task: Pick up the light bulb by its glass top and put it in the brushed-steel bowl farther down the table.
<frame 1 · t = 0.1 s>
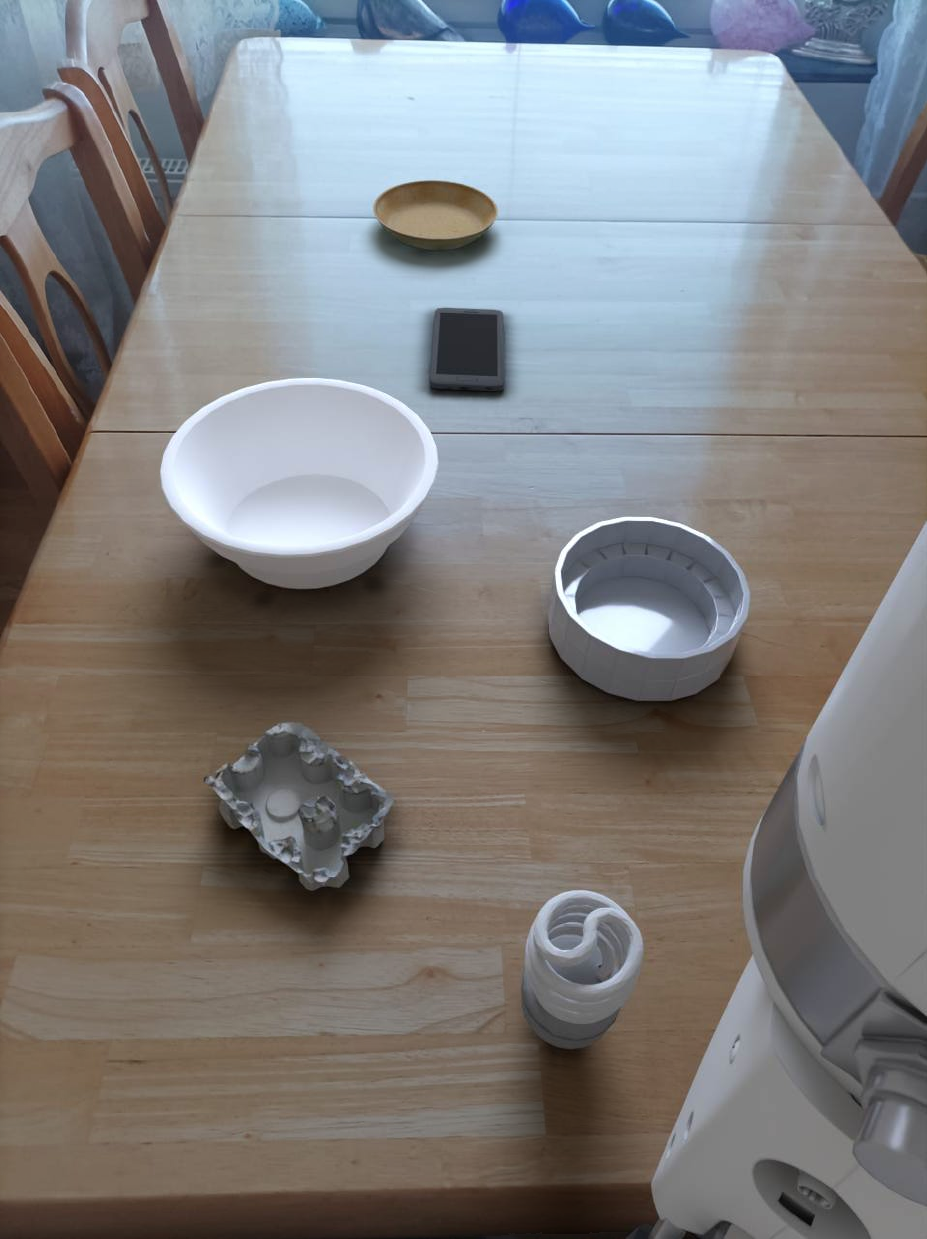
hand: (733, 1137, 29), 22 cm above the table, tool pointing down, fingers open, 9 cm apart
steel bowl: (638, 631, 72), on the table
egg carton: (305, 818, 61), on the table
plant saucer: (435, 230, 113), on the table
light bulb: (561, 1017, 53), on the table
cell phone: (467, 352, 96), on the table
bowl: (310, 536, 78), on the table
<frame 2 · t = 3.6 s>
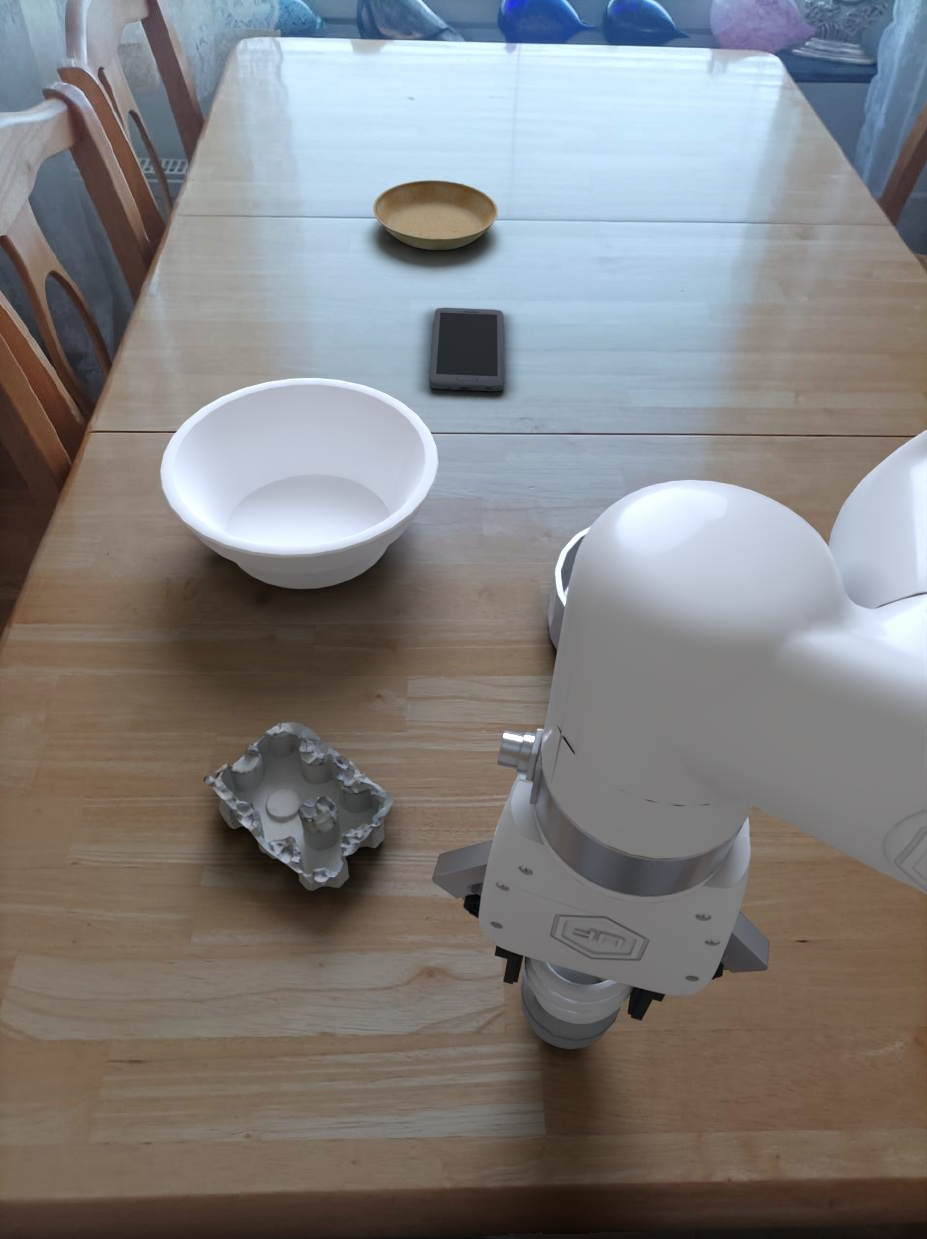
hand: (577, 971, 48), 7 cm above the table, tool pointing down, fingers closed on light bulb, 5 cm apart
light bulb: (561, 1018, 53), on the table, touching gripper
everything else where it was.
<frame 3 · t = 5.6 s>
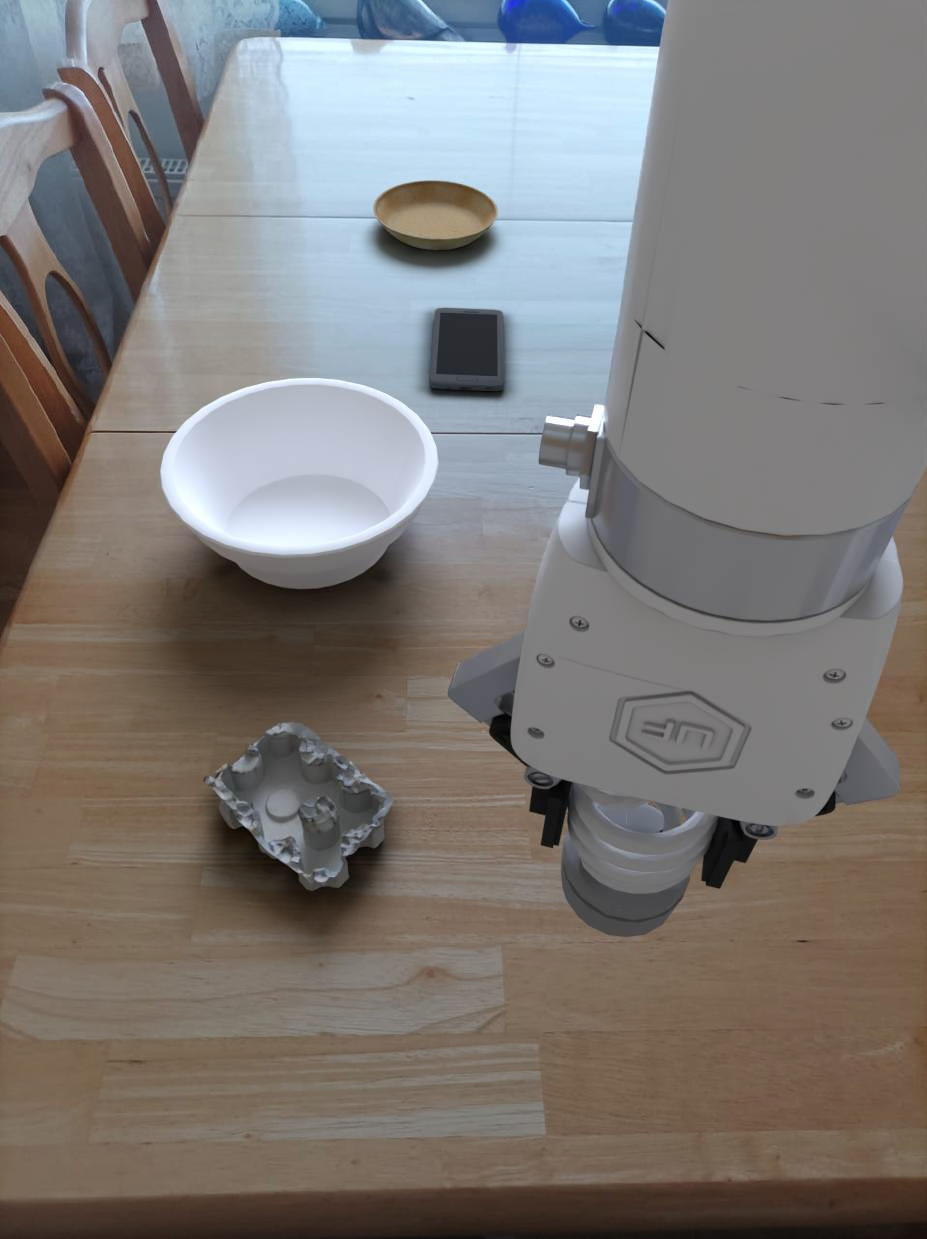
hand: (634, 832, 37), 21 cm above the table, tool pointing down, fingers closed on light bulb, 5 cm apart
light bulb: (610, 909, 43), point 14 cm above the table, touching gripper
everything else where it was.
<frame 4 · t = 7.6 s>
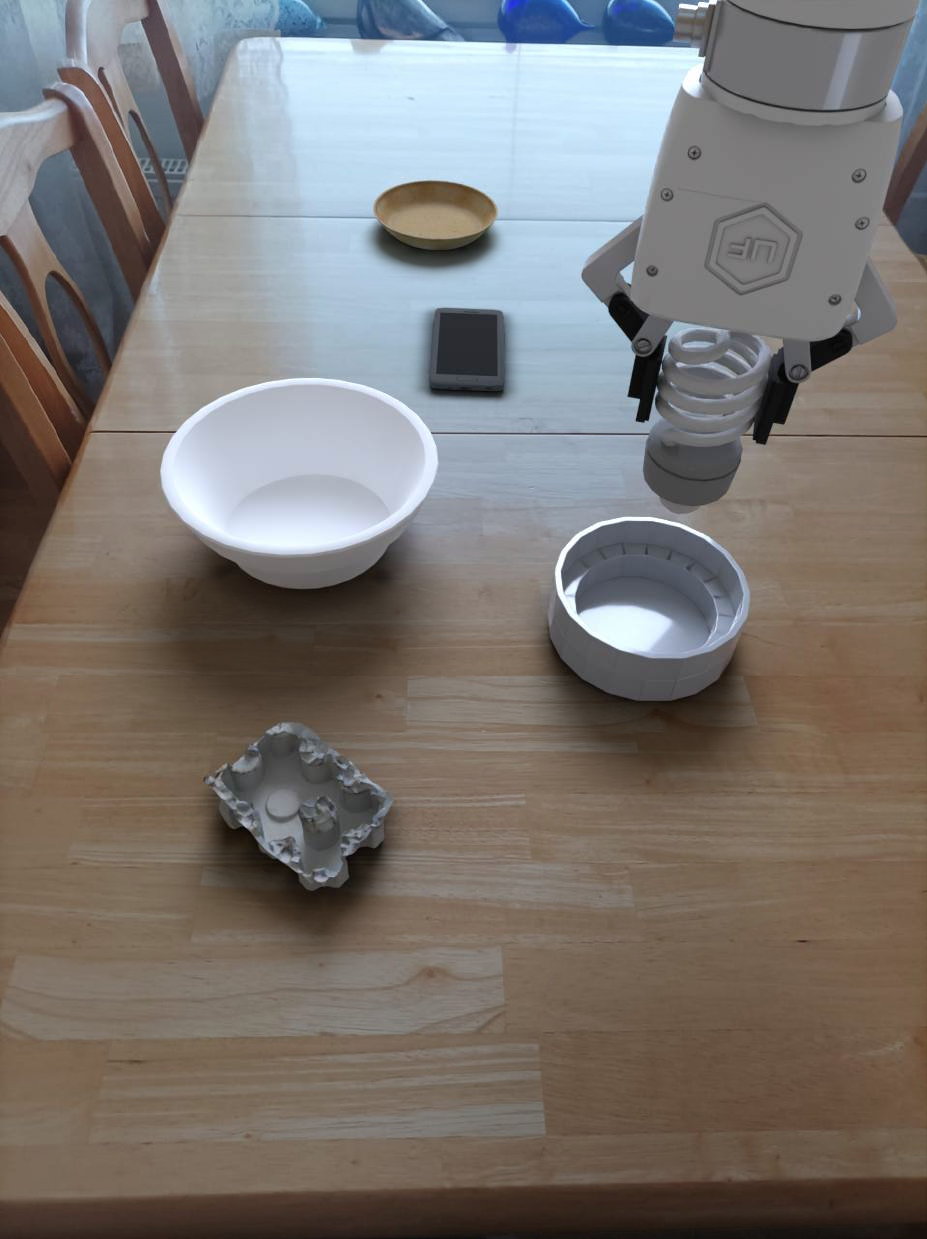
hand: (702, 415, 51), 23 cm above the table, tool pointing down, fingers closed on light bulb, 5 cm apart
light bulb: (676, 512, 57), point 16 cm above the table, touching gripper
everything else where it was.
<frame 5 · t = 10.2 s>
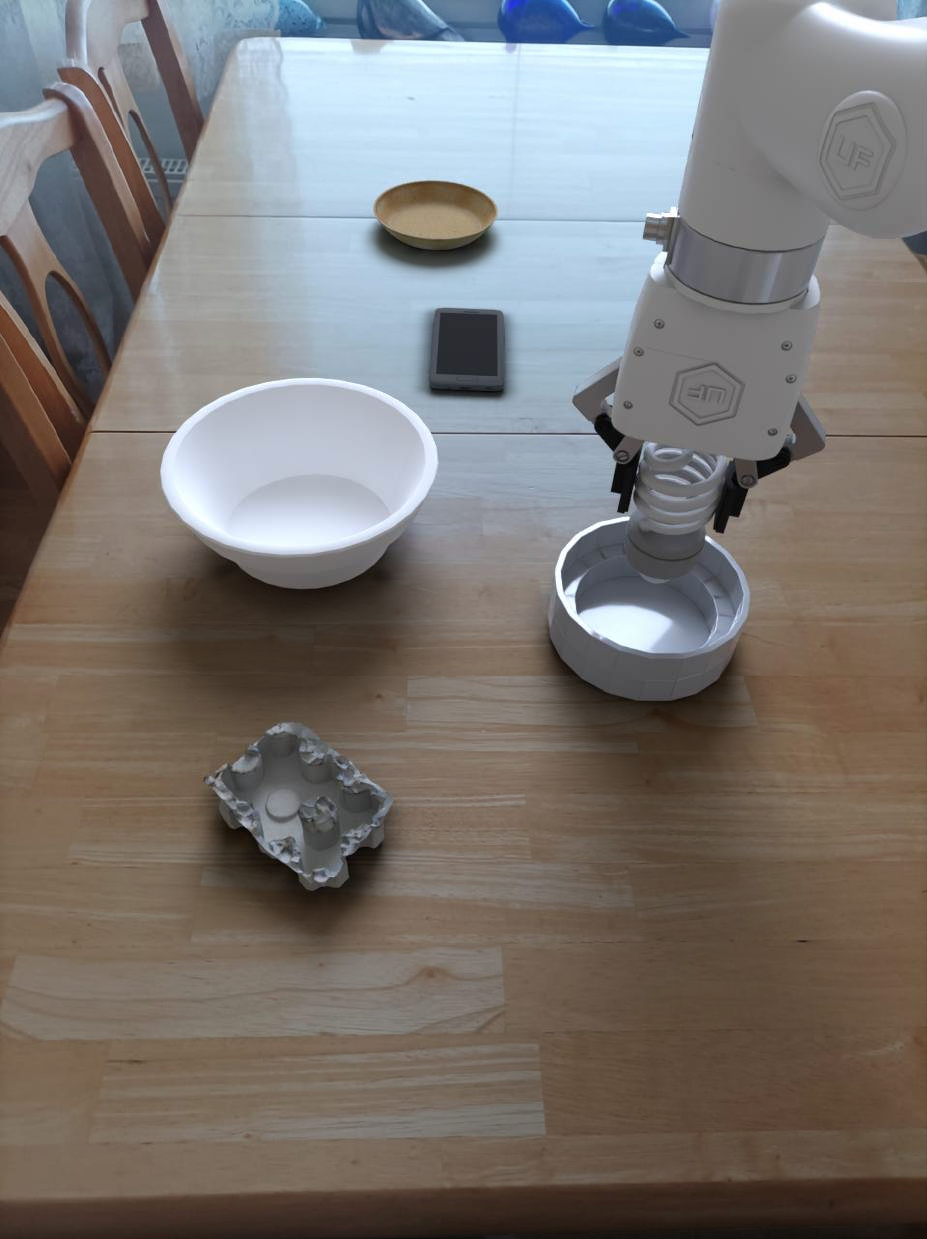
hand: (672, 507, 62), 13 cm above the table, tool pointing down, fingers closed on light bulb, 5 cm apart
light bulb: (652, 581, 67), point 6 cm above the table, touching gripper
everything else where it was.
when the fingers open (8 cm above the table, at t = 12.0 s): light bulb stays where it is, resting on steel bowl.
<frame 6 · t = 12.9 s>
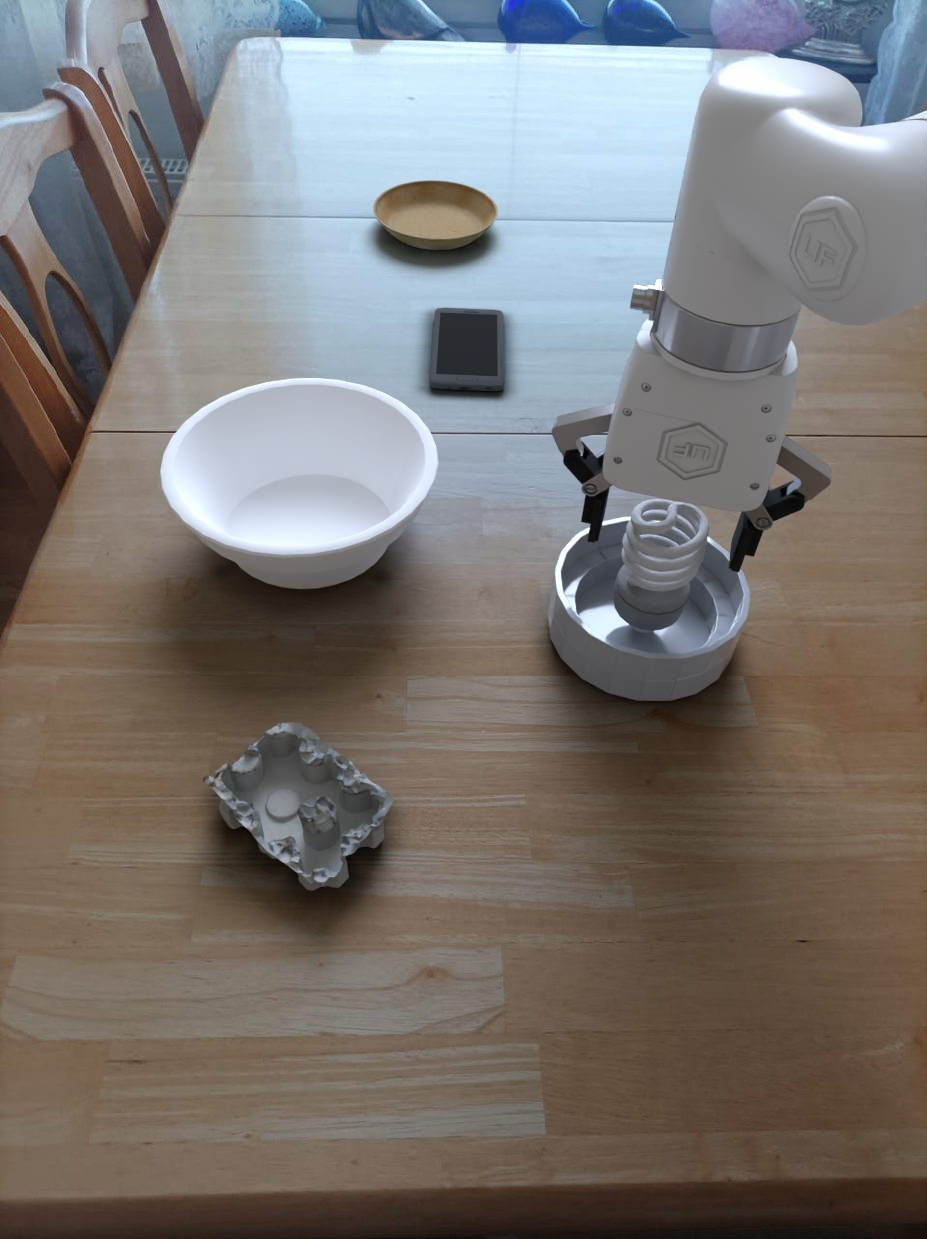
hand: (664, 543, 64), 10 cm above the table, tool pointing down, fingers open, 9 cm apart
light bulb: (640, 629, 71), resting on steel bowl
everything else where it was.
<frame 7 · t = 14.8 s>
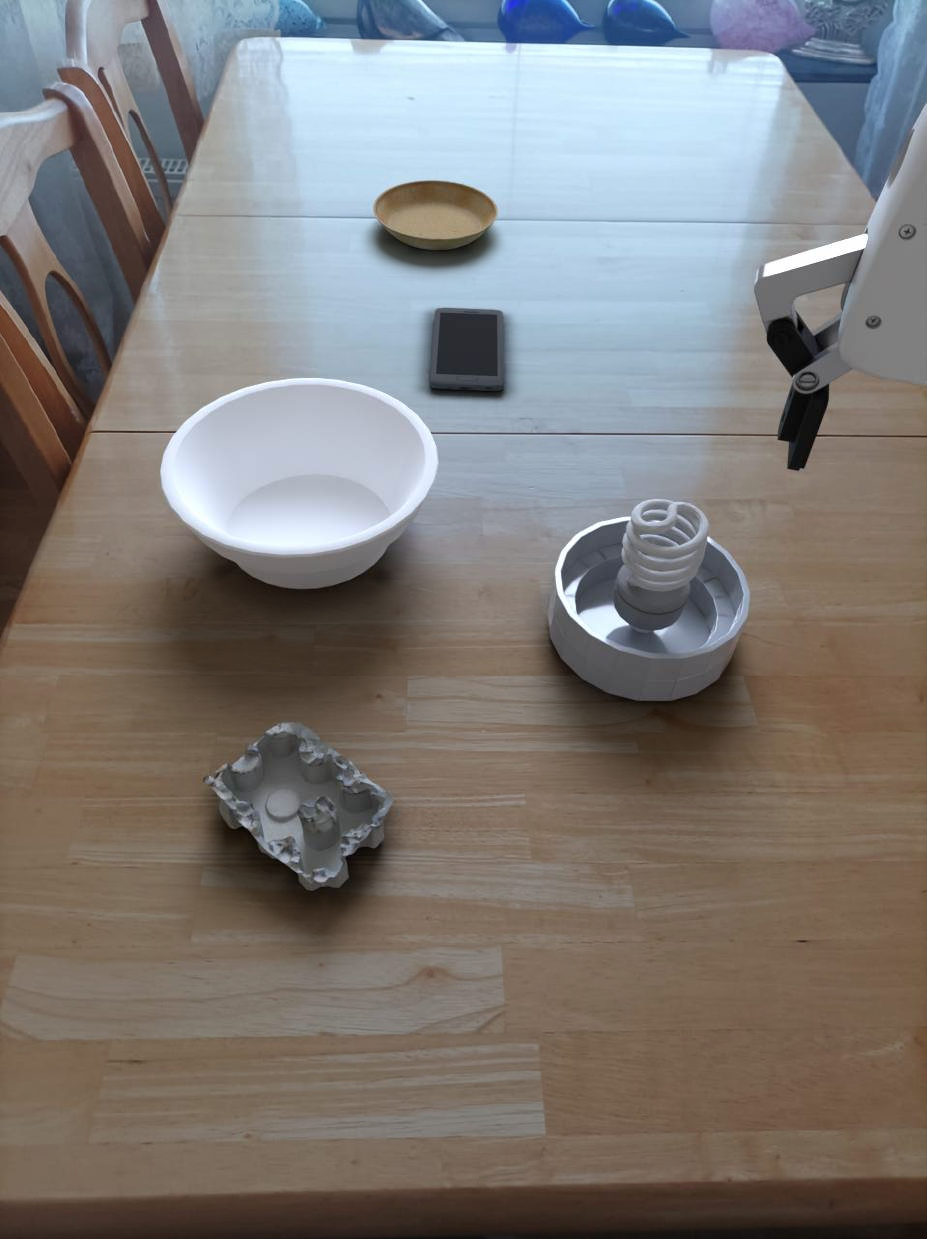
hand: (902, 471, 43), 27 cm above the table, tool pointing down, fingers open, 9 cm apart
nothing on the table moved.
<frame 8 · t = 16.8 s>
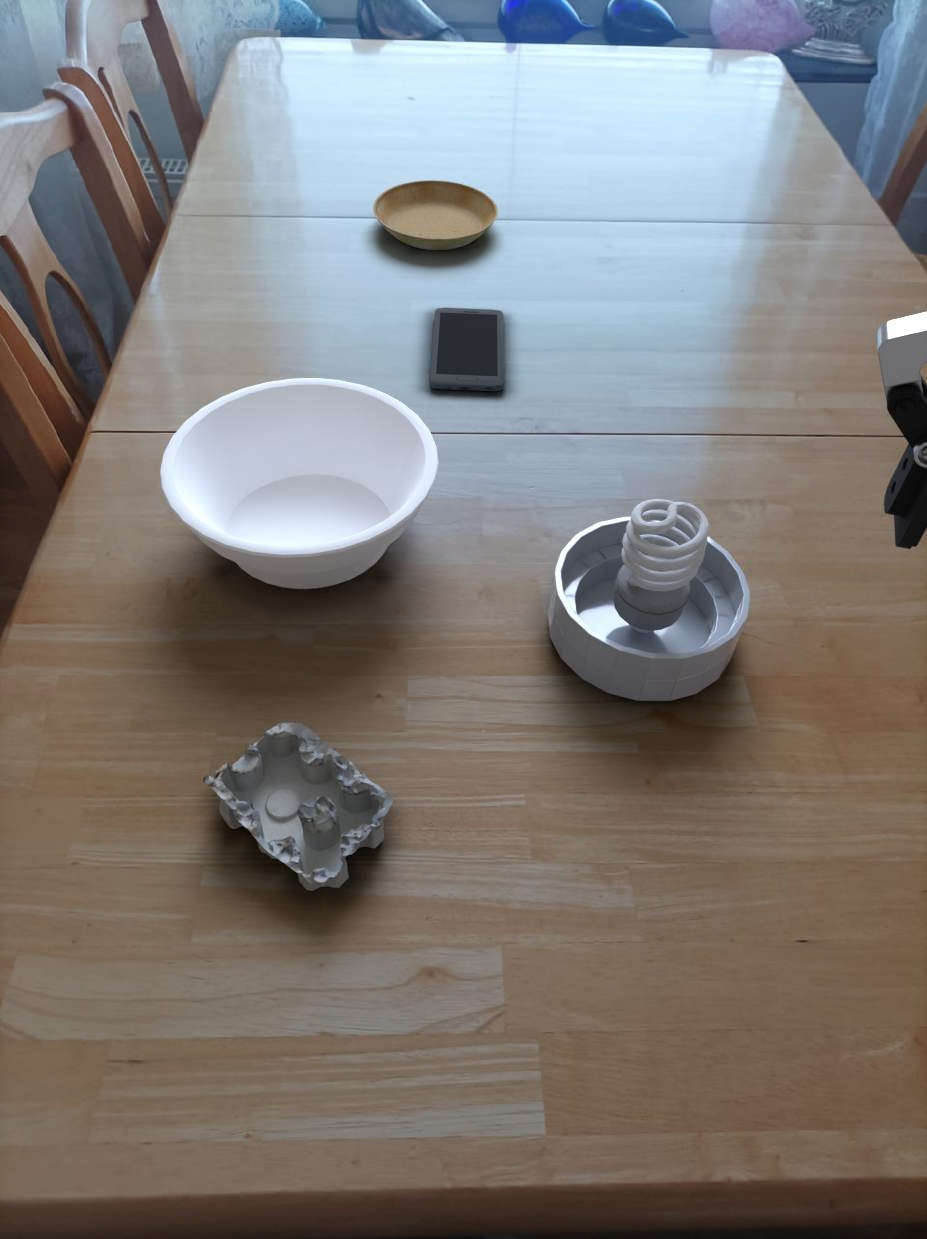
nothing on the table moved.
at the end: light bulb inside the target area in the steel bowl (0.1 cm from its centre), point 0.4 cm above the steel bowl's base; the gripper is holding nothing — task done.
